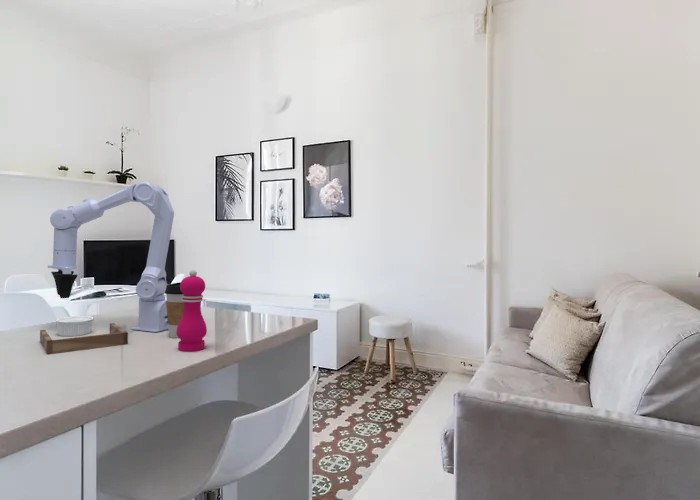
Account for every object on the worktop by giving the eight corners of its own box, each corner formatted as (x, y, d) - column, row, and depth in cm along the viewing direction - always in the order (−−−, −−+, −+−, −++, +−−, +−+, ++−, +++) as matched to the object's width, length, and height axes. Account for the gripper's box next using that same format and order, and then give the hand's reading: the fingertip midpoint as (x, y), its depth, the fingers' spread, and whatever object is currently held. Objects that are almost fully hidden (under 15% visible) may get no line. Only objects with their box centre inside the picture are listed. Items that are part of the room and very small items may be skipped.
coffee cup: (202, 334, 122) (203, 283, 122) (181, 340, 114) (182, 285, 114) (178, 331, 125) (179, 281, 124) (157, 337, 117) (158, 283, 116)
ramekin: (100, 332, 121) (100, 317, 121) (68, 338, 113) (68, 322, 113) (80, 329, 124) (80, 314, 124) (48, 334, 116) (48, 319, 116)
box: (40, 341, 108) (40, 330, 108) (113, 333, 120) (113, 323, 120) (47, 354, 97) (47, 341, 97) (127, 343, 109) (127, 332, 108)
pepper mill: (181, 344, 109) (182, 268, 109) (209, 345, 110) (211, 269, 110) (171, 352, 102) (173, 270, 102) (202, 352, 103) (204, 271, 102)
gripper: (46, 249, 127) (44, 293, 127) (50, 251, 116) (48, 300, 116) (74, 249, 132) (72, 292, 132) (80, 252, 121) (78, 299, 121)
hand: (63, 296), depth 124 cm, fingers open, 7 cm apart
